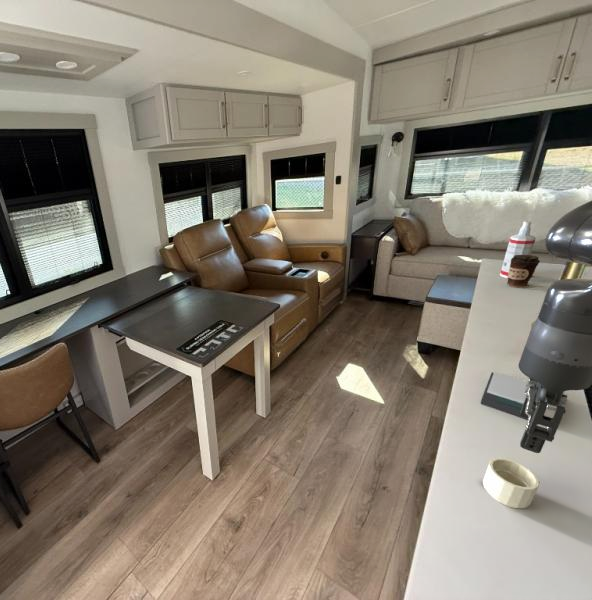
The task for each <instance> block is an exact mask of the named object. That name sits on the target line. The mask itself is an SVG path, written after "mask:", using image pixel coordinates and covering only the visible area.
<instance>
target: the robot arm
mask: <svg viewBox="0 0 592 600" xmlns="http://www.w3.org/2000/svg"><path fill="white" fill-rule="evenodd" d="M544 244H545V245H544V246H545V249H546V251H547V253H548V254H549V255H551V256H552V257H553V258H555V259H558V260H561V261H563V262H564V261H565V262H569V263H575V264H580V265H585V266H590V267H592V200H589V201H587V202H585V203H583V204H581V205H579V206H577V207H575V208H573V209H572V210H570V211H569V212H567V213H565V214H563V216H561V217H560V218H559V219H557V221H556V222H554V223H553V225H552V227H551V228H550V229H549V230H548V231H547V234H546V237H545V240H544ZM518 369H519V371H520V372H521V373H522V374H523V375H524V376H526V377H527V380H526V381H527V384H526V387H525V397H528V398H525V401H524V404H523V406H522V409H521V411H520V415H521V416H522V417H524V418H527V419H528V420H527V422H526V424H525V425H524V428H525V430H524V432H523V434H522V436H521V440H520V443H519V444H520V445H519V446H520V448H521V449H522V450H523V449H524V450H526V451H529V452H532V453H534V454H540V453H541V452H542V449H543V448H544V445H545V443H546V441H547V442H550V443H552V442H553V441H554V440H555V435H556V434H557V431H558V429H559V426H560V424H561V421H562V419H563V416H564V415H565V414H566V411H567V410H566V407H565V405H566V404H567V401H568V394H565V392H568V391H583V390H586V389H589V388H590V387H591V386H592V279H591V278H590V279H589V278H563V279H559V280H556V281H554V282H552V284H550V285H549V287H548V288H547V291H546V293H545V295H544V298H543V301H542V305H541V307H540V310H539V312H538V316H537V317H536V319H535V321H534V323H533V325H532V326H531V329H530V331H529V334H528V337H527V340H526V342H525V345H524V347H523V351H522V352H521V356H520V359H519V362H518Z"/></svg>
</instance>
